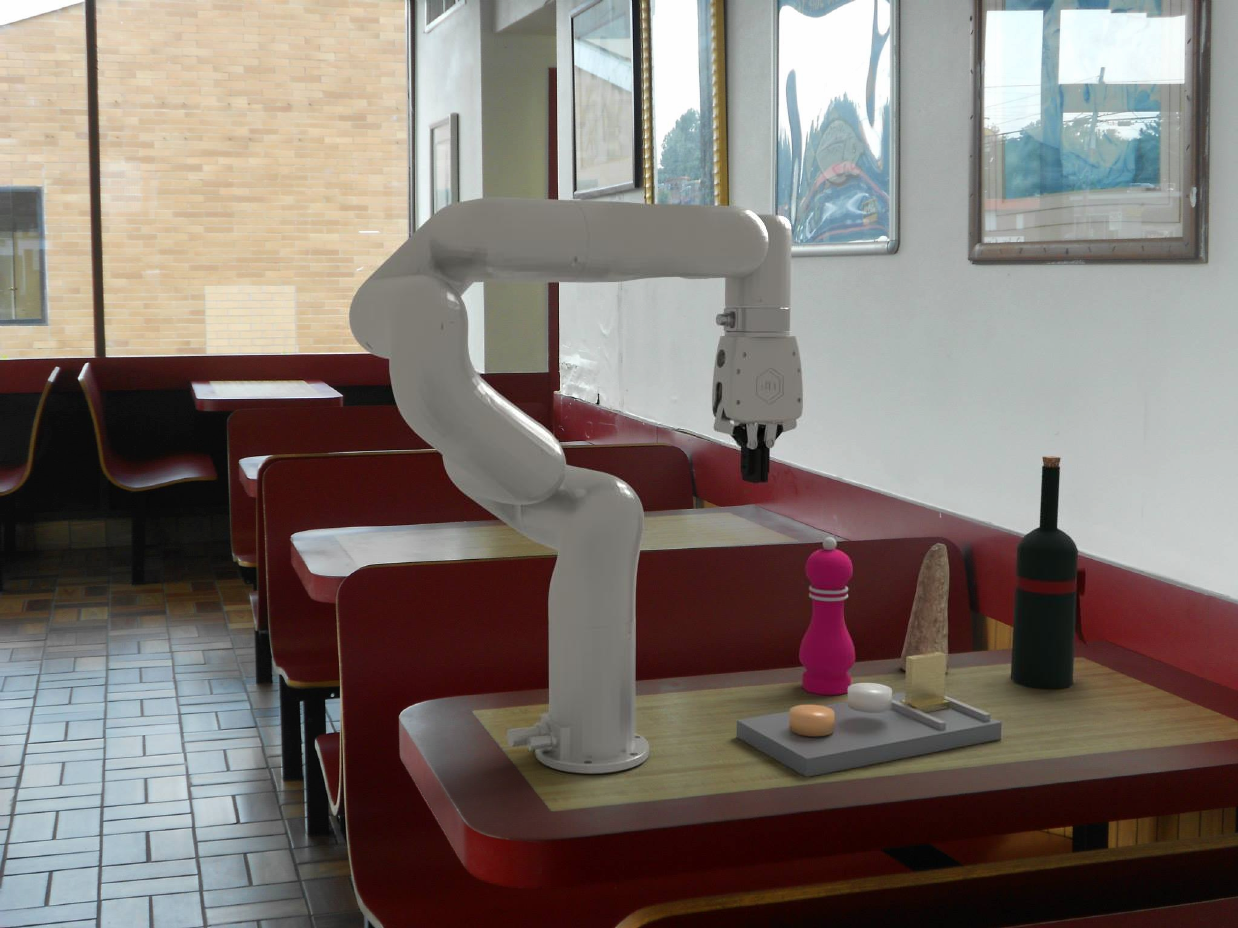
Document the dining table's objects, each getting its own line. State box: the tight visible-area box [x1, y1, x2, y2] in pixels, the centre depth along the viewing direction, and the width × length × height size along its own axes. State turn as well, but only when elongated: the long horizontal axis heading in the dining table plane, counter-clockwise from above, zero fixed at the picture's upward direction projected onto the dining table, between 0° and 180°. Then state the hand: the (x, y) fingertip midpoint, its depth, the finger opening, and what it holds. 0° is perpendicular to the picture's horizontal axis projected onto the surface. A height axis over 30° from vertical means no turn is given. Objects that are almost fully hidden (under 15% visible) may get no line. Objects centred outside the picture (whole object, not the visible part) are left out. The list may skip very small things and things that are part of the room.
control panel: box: [736, 691, 1003, 778], centre depth 145 cm, size 27×14×3 cm, turn 116°
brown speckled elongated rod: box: [900, 542, 950, 672], centre depth 172 cm, size 6×18×6 cm
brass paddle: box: [900, 652, 950, 713], centre depth 150 cm, size 5×3×6 cm, turn 116°
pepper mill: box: [798, 536, 856, 696], centre depth 164 cm, size 7×7×20 cm
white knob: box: [846, 682, 893, 713], centre depth 145 cm, size 5×5×2 cm
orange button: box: [788, 704, 835, 736], centre depth 142 cm, size 5×5×2 cm
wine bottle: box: [1010, 455, 1088, 690], centre depth 167 cm, size 8×10×30 cm
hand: (754, 481), depth 148 cm, fingers closed
